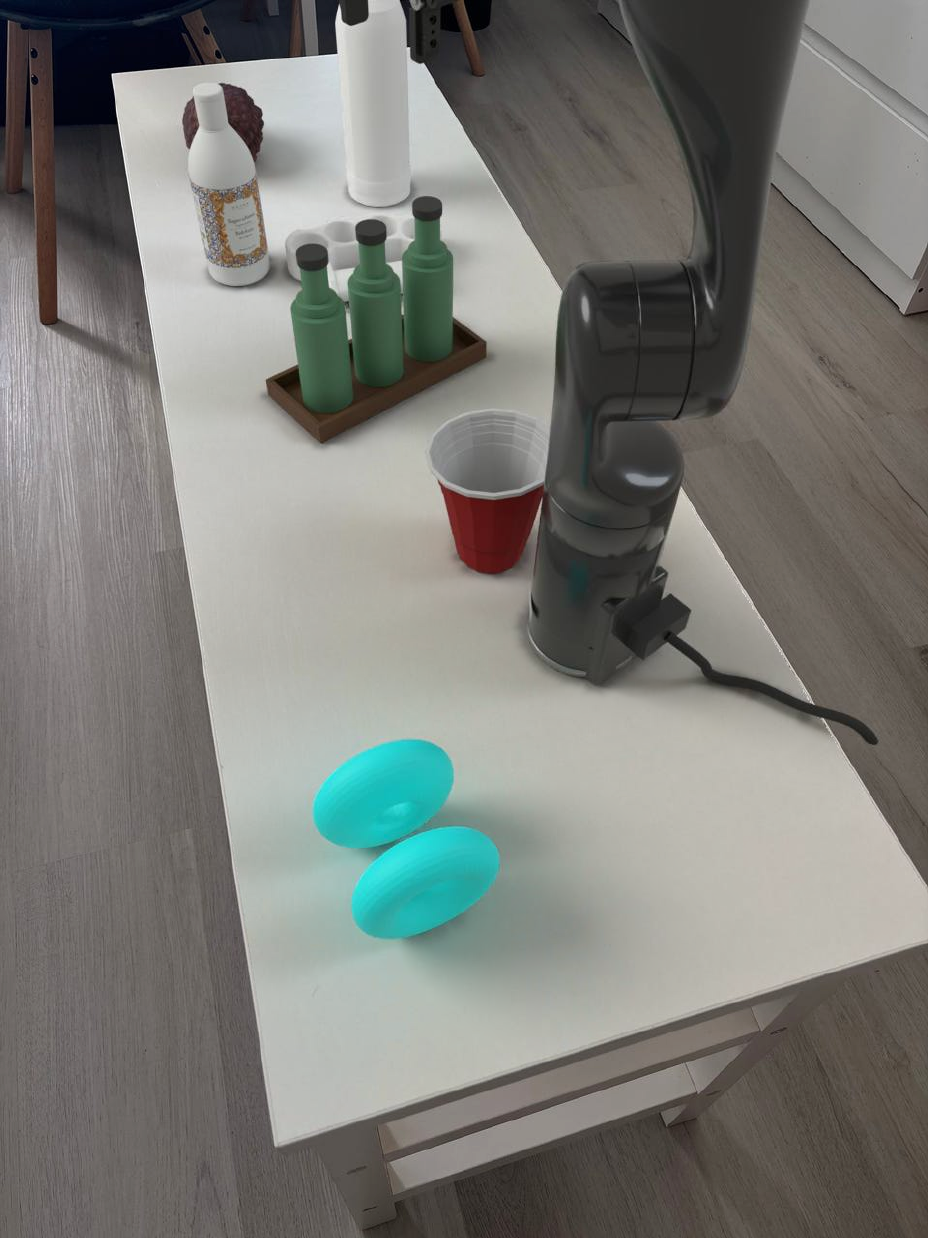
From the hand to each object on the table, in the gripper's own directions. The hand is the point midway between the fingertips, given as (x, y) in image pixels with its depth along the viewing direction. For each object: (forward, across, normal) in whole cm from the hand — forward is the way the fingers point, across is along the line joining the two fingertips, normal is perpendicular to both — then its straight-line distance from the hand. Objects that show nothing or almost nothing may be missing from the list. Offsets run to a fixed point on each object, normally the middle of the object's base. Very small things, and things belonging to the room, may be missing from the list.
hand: (389, 40), depth 76 cm
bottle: (+32, -30, +20) cm, 48 cm away
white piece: (+32, -17, +9) cm, 37 cm away
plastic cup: (+32, +24, -10) cm, 41 cm away
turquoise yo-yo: (+32, +42, -34) cm, 63 cm away
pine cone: (+32, -48, +11) cm, 59 cm away
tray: (+32, -1, -2) cm, 32 cm away
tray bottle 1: (+31, -1, -2) cm, 31 cm away
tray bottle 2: (+31, -1, +4) cm, 32 cm away
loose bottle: (+31, -1, -8) cm, 32 cm away
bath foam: (+32, -26, -3) cm, 41 cm away
